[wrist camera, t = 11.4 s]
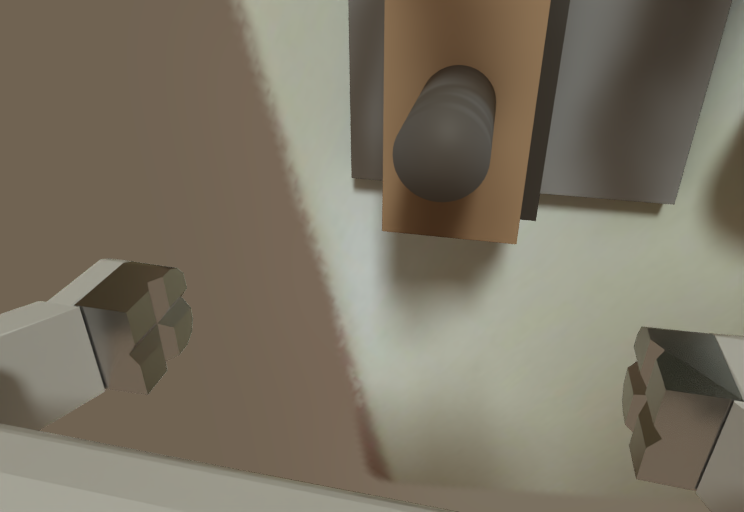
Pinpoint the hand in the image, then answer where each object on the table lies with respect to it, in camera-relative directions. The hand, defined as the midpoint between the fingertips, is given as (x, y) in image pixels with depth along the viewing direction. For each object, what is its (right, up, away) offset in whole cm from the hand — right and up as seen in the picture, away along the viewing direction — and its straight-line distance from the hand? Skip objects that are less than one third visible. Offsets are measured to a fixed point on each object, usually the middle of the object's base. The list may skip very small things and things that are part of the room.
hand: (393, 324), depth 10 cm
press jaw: (+5, +11, +19) cm, 23 cm away
